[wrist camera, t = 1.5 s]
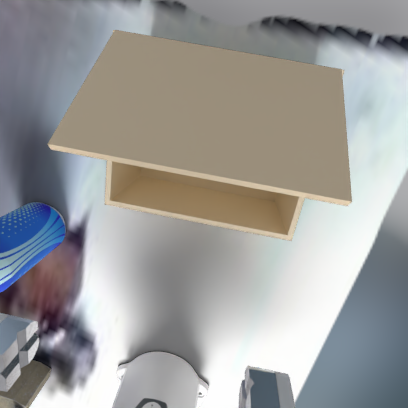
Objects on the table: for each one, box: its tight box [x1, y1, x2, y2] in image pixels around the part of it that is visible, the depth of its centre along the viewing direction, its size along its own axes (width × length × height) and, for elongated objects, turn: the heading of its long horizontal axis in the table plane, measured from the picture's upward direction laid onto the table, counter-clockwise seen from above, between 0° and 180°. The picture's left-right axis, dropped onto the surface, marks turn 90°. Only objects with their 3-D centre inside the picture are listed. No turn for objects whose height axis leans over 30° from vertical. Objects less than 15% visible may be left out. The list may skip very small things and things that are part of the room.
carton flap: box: [48, 30, 352, 206], centre depth 23 cm, size 14×21×1 cm
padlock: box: [0, 360, 51, 408], centre depth 55 cm, size 4×8×15 cm, turn 73°
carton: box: [105, 30, 344, 241], centre depth 36 cm, size 18×22×12 cm
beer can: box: [0, 202, 66, 292], centre depth 42 cm, size 8×8×16 cm
